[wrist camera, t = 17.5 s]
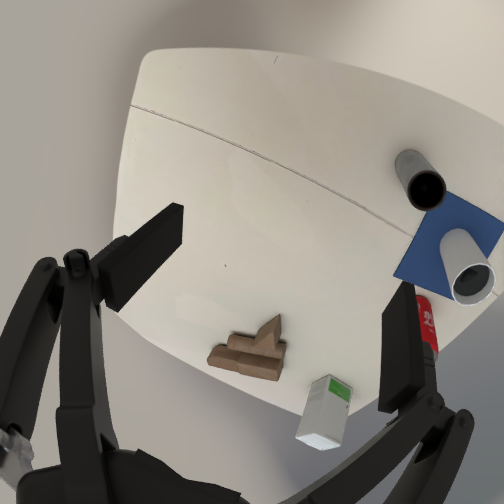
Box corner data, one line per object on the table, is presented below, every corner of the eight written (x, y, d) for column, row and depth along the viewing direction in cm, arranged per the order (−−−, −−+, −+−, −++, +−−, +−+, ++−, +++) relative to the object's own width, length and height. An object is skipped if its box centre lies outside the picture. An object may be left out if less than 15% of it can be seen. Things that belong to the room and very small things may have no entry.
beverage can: (402, 295, 44) (406, 350, 35) (430, 292, 42) (441, 345, 32) (402, 317, 46) (405, 371, 37) (429, 314, 44) (437, 368, 34)
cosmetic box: (353, 388, 61) (343, 446, 48) (333, 397, 64) (321, 451, 52) (328, 373, 60) (315, 433, 48) (309, 382, 64) (293, 439, 51)
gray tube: (432, 164, 32) (454, 190, 24) (412, 188, 35) (427, 219, 27) (408, 142, 32) (425, 161, 24) (388, 167, 35) (398, 193, 27)
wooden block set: (280, 386, 59) (205, 369, 64) (287, 367, 63) (215, 352, 69) (278, 336, 50) (188, 319, 56) (285, 314, 54) (200, 301, 60)
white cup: (429, 256, 39) (442, 298, 31) (448, 219, 35) (468, 256, 27) (462, 269, 37) (478, 311, 29) (481, 234, 34) (504, 272, 26)
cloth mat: (438, 186, 33) (438, 187, 33) (505, 224, 31) (506, 225, 31) (393, 275, 43) (393, 276, 43) (457, 300, 41) (458, 302, 40)
